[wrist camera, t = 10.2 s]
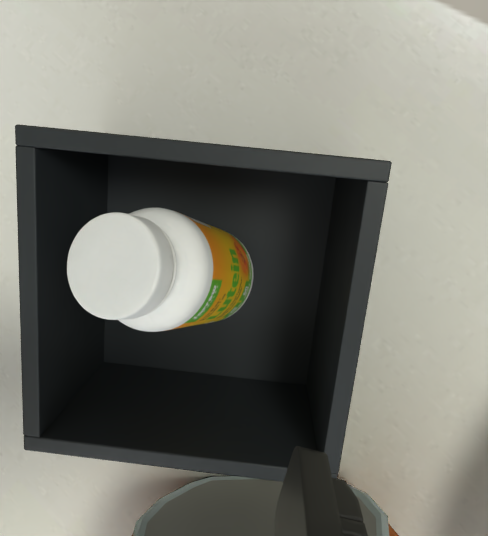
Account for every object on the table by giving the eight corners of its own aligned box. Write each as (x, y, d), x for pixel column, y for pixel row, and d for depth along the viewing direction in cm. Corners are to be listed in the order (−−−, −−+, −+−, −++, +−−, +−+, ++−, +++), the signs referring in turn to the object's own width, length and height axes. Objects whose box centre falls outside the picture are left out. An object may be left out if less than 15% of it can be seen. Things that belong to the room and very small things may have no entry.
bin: (99, 137, 25) (14, 124, 17) (350, 162, 25) (392, 161, 16) (95, 367, 29) (23, 450, 20) (316, 392, 28) (335, 489, 20)
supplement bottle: (245, 331, 24) (160, 357, 15) (161, 310, 26) (38, 321, 17) (264, 237, 24) (191, 203, 15) (178, 222, 26) (65, 183, 17)
